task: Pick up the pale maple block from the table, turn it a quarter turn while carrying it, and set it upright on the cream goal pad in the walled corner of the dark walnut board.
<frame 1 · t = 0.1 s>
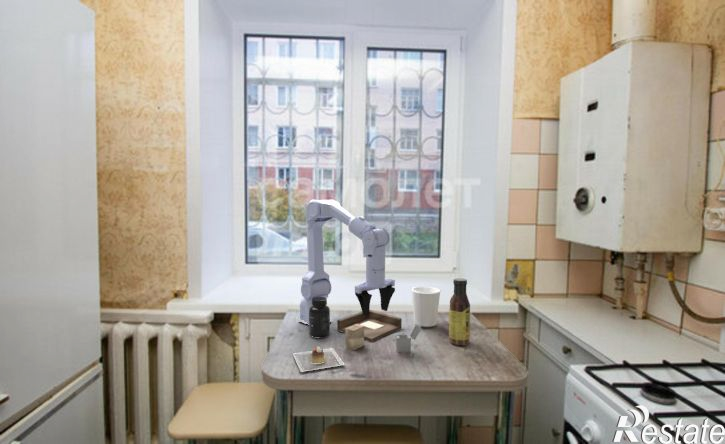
hand: (375, 312, 117), 10 cm above the table, tool pointing down, fingers open, 7 cm apart
cup: (425, 325, 134), on the table
sauce bottle: (458, 343, 119), on the table
dessert: (317, 363, 106), on the table
corner board: (369, 329, 130), on the table
maple block: (354, 346, 116), on the table
lighter: (408, 351, 112), on the table
supplement bottle: (319, 335, 125), on the table
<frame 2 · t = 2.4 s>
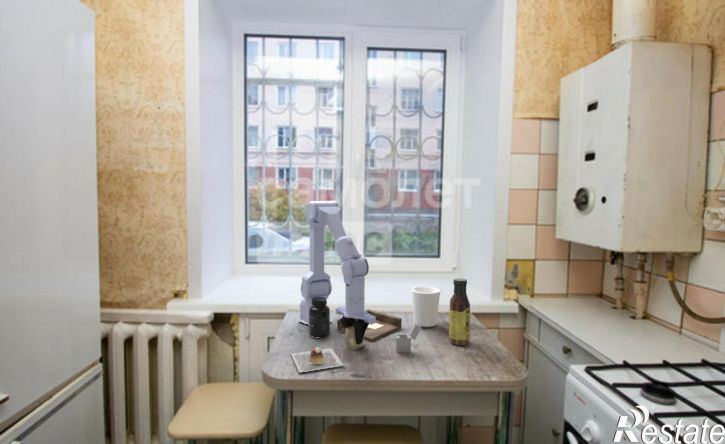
hand: (354, 341, 116), 1 cm above the table, tool pointing down, fingers closed on maple block, 3 cm apart
maple block: (354, 346, 116), on the table, touching gripper
everything else where it was.
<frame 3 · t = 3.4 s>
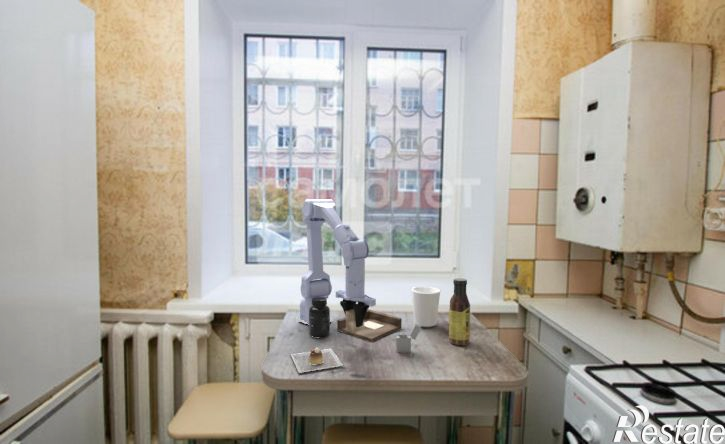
hand: (354, 324, 115), 7 cm above the table, tool pointing down, fingers closed on maple block, 3 cm apart
maple block: (355, 329, 115), point 5 cm above the table, touching gripper
everything else where it was.
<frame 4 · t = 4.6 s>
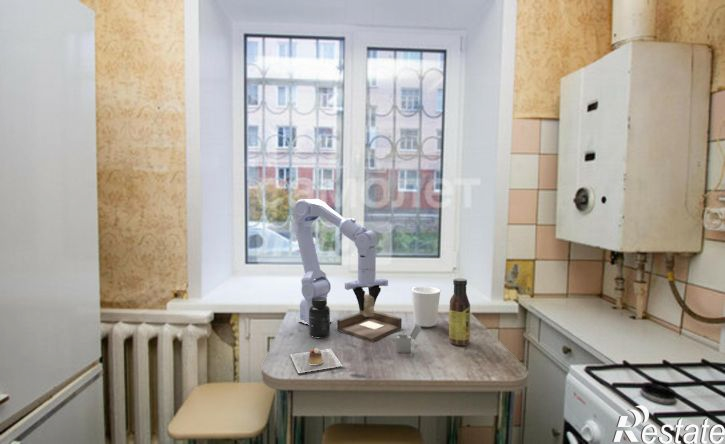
hand: (366, 309, 125), 8 cm above the table, tool pointing down, fingers closed on maple block, 3 cm apart
maple block: (366, 314, 125), point 7 cm above the table, touching gripper
everything else where it was.
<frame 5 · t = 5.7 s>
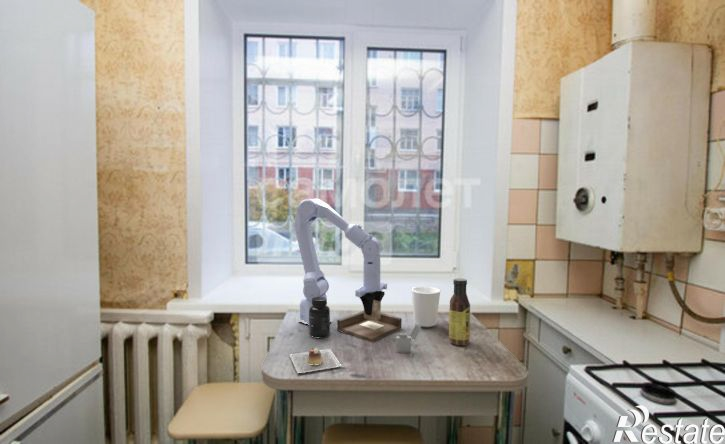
hand: (371, 313, 130), 5 cm above the table, tool pointing down, fingers closed on maple block, 3 cm apart
maple block: (372, 318, 130), point 4 cm above the table, touching gripper
when the fingers open (3 cm above the table, at t = 6.7 s): maple block stays where it is, resting on corner board.
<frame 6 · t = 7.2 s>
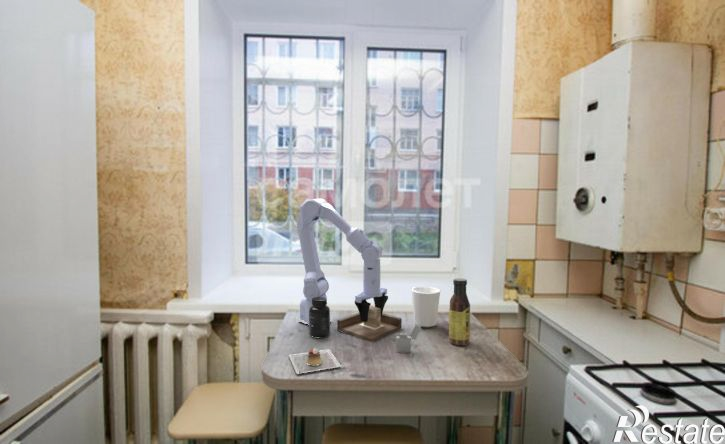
hand: (371, 318, 131), 3 cm above the table, tool pointing down, fingers open, 7 cm apart
maple block: (371, 325, 131), point 1 cm above the table, touching corner board
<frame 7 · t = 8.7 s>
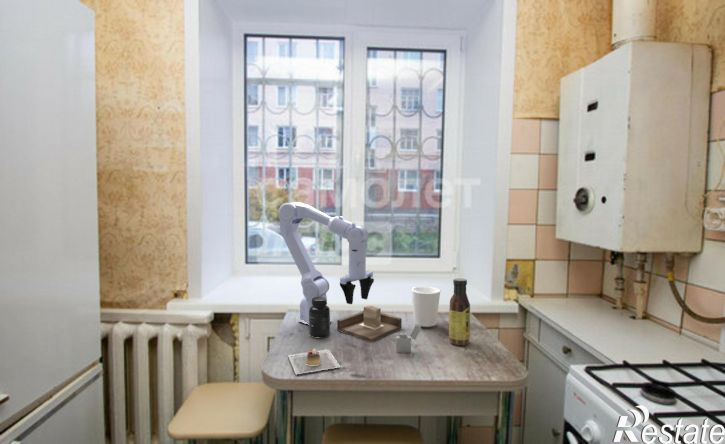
hand: (357, 301, 130), 9 cm above the table, tool pointing down, fingers open, 7 cm apart
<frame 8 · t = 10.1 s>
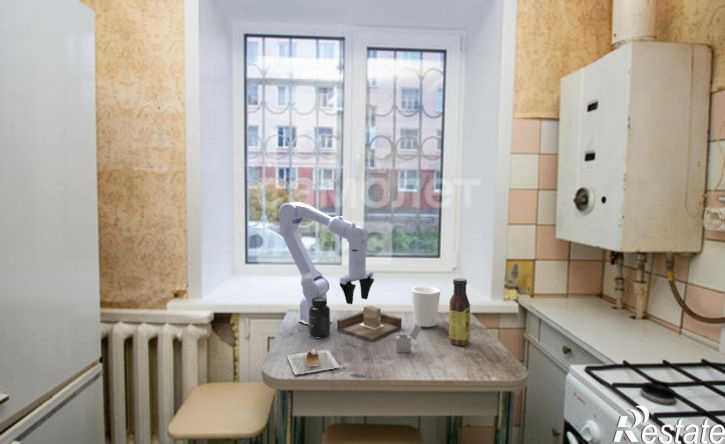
hand: (357, 301, 130), 9 cm above the table, tool pointing down, fingers open, 7 cm apart
at the end: maple block 0.2 cm from the target spot, point 1.2 cm above the table; maple block tilted 0°; the gripper is holding nothing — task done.
